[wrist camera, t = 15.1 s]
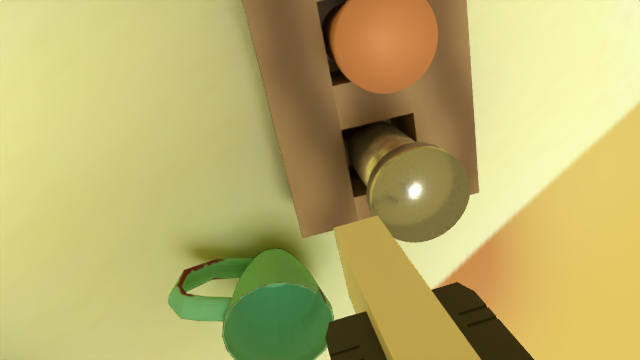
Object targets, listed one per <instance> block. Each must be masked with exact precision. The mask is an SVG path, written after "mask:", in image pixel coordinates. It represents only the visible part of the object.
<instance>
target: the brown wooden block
mask: <svg viewBox="0 0 640 360" xmlns="http://www.w3.org/2000/svg"><path fill="white" fill-rule="evenodd" d="M242 1H243V5H244V9H245V13H246V17H247V21H248V25H249V29H250V33H251V36H252V40H253V44H254V48H255V52H256V56H257V60H258V64H259V68H260V72H261V76H262V80H263V84H264V88H265V92H266V96H267V100H268V104H269V107H270V111H271V115H272V119H273V123H274V127H275V131H276V135H277V139H278V143H279V147H280V151H281V155H282V159H283V163H284V167H285V171H286V175H287V178H288V182H289V186H290V190H291V194H292V198H293V202H294V206H295V210H296V214H297V218H298V222H299V226H300V230H301V234H302V238H305V237H309V236H312V235H316V234H320V233H324V232H328V231H332V230H334V229H333V228H335V227H339V226H342V225H346V224H349V223H353V222H356V221H360V220H363V219H367V218H370V217H374V215H373V214H372V212H371V210H370V208H369V206H368V202H367V195H366V192H367V187H366V185H365V184H364V182H363V181H362V179H361V178H360V176H359V175H358V173H357V172H356V171H355V169H354V168H353V166H352V164H351V163H350V160H349V157H348V146H349V142H350V140H351V138H352V136H353V134H354V133H355V132H356V131H357V130H358V129H359V128H360V127H361V126H363V125H365V124H369V123H373V122H377V121H384V122H388V123H390V124H392V125H394V126H395V127H396V128H398V129H399V130H400V131H402V132H403V133H404V134H406V135H407V136H408V137H410V138H411V139H412V140H413V141H415V142H427V143H431V144H434V145H437V146H439V147H440V148H442V149H444V150H445V151H447V152H448V153H450V154H451V155H452V156H454V157H455V158H456V159H458V160H459V161H460V163H461V164H462V165H463V166H464V168H465V170H466V172H467V174H468V177H469V182H470V195H471V194H475V193H479V185H478V170H477V155H476V139H475V124H474V109H473V93H472V78H471V63H470V47H469V32H468V17H467V1H466V0H426V1H427V2H428V3H429V5H430V6H431V8H432V10H433V12H434V15H435V18H436V21H437V27H438V43H437V48H436V52H435V55H434V58H433V60H432V62H431V64H430V66H429V67H428V69H427V71H426V72H425V73H424V74H423V76H422V77H421V78H420V79H419V80H418V81H416V82H415V83H414V84H412V85H411V86H409V87H408V88H406V89H403V90H401V91H398V92H395V93H389V94H380V93H373V92H369V91H367V90H364V89H363V88H361V87H359V86H357V85H356V84H354V83H353V82H351V81H350V80H349V79H348V78H347V77H346V76H345V75H344V74H343V73H342V72H341V70H340V69H339V67H338V65H337V64H336V61H334V60H333V59H331V58H330V57H329V56H328V54H327V53H326V50H325V45H324V39H323V34H322V29H321V27H322V24H323V21H324V19H325V17H326V16H327V14H328V13H329V12H330V11H331V10H332V9H333V8H334V7H336V6H337V5H340V4H342V3H346V2H347V0H242Z"/></svg>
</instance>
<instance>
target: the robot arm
mask: <svg viewBox="0 0 640 360" xmlns="http://www.w3.org/2000/svg"><path fill="white" fill-rule="evenodd" d="M333 229H334V233H335V237H336V242H337V246H338V250H339V255H340V259H341V263H342V267H343V272H344V276H345V280H346V284H347V289H348V293H349V297H350V299H351V302H352V304H353V307H354V309H355V312H356V314H355V315H351V316H348V317H345V318H341V319H338V320H335V321H331V322H329V325H328V329H327V333H326V337H325V339H326V343H327V347H328V350H329V354H330V358H331V360H534V359H533V358H532V357H531V355H530V354H529V353H528V352H527V351H526V350H525V349H524V347H523V346H522V345H521V344H520V343H519V342H518V341H517V339H516V338H515V337H514V336H513V335H512V334H511V333H510V331H509V330H508V329H507V328H506V327H505V326H504V325H503V323H502V322H501V321H500V320H499V319H497V318H496V315H495V314H494V313H493V312H492V311H491V310H490V309H489V308H487V306H486V304H485V303H484V302H483V301H482V300H481V298H480V297H479V296H478V295H477V294H476V293H475V292H474V291H473V290H471V289H469V288H467V287H465V286H463V285H461V284H460V283H458V282H456V283H453V284H449V285H446V286H443V287H440V288H436V289H433V290H431V289H430V288H429V286H428V285H427V284H426V282H425V281H424V279H423V278H422V277H421V275H420V274H419V272H418V271H417V270H416V268H415V267H414V265H413V264H412V263H411V261H410V260H409V258H408V257H407V256H406V254H405V253H404V251H403V250H402V249H401V247H400V246H399V245H398V243H397V242H396V240H395V239H394V238H393V236H392V235H391V233H390V232H389V231H388V229H387V228H386V226H385V225H384V224H383V222H382V221H381V219H380V218H379V217H378V215H377V216H374V217H370V218H367V219H363V220H360V221H356V222H353V223H349V224H346V225H342V226H339V227H335V228H333Z"/></svg>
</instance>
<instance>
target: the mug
mask: <svg viewBox="0 0 640 360" xmlns="http://www.w3.org/2000/svg"><path fill="white" fill-rule="evenodd" d="M228 278H240V280H239V282H238V284H237V286H236V289H235V291H234V294H233V297H232V298H230V297H204V296H198V295H192V294H187V293H186V292H187V291H189V290H191V289H193V288H195V287H197V286H200V285H202V284H204V283H206V282H208V281H210V280H214V279H228ZM169 305H170V306H171V308H172V309H173V310H174V311H175V312H176V313H177V315H178V316H179V317H180V318H182V319H189V320H195V321H223V333H222V337H223V340H224V343H225V346H226V349H227V351H228V352H229V353H230V355H231V356H232V357H233V358H234V359H235V360H315V359H316V358H317V357H318V356H319V355H320V354H322V353H323V352H324V351H325V349H326V348H327V343H326V339H325V337H326V333H327V329H328V325H329V322H331V321H334V316H333V311H332V307H331V304H330V302H329V301H328V299H327V298H326V296H325V295H324V293H323V292H322V290H321V289H320V287H319V286H318V284H317V283H316V281H315V280H314V278H313V277H312V275H311V274H310V273H309V271H308V270H307V268H306V267H305V266H304V265H303V264H302V263H301V262H300V261H299V260H298V259H296V258H295V257H294V256H292V255H291V254H290V253H288V252H287V251H285V250H282V249H275V248H272V249H268V250H265V251H263V252H261V253H259V254H258V256H257V257H256V258H229V259H215V260H212V261H209V262H206V263H203V264H200V265H198V266H195V267H192V268H189V269H186V270H184V271H183V273H182V274H181V276H180V278H179V279H178V281H177V283H176V285H175V286H174V288H173V290H172V292H171V293H170V295H169Z"/></svg>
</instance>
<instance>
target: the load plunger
mask: <svg viewBox="0 0 640 360" xmlns="http://www.w3.org/2000/svg"><path fill="white" fill-rule="evenodd" d="M321 29H322V34H323V39H324V45H325V50H326V53H327V54H328V56H329V57H330V58H331V59H333V60H334V61H336V64H337V65H338V67H339V69H340V70H341V72H342V73H343V74H344V75H345V76H346V77H347V78H348V79H349V80H350V81H351V82H353V83H354V84H356V85H357V86H359V87H361V88H363V89H364V90H367V91H369V92H373V93H380V94H389V93H395V92H398V91H401V90H403V89H406V88H408V87H409V86H411V85H412V84H414V83H415V82H416V81H418V80H419V79H420V78H421V77H422V76H423V74H424V73H425V72H426V71H427V69H428V67H429V66H430V64H431V62H432V60H433V58H434V55H435V52H436V48H437V43H438V27H437V21H436V18H435V15H434V12H433V10H432V8H431V6H430V5H429V3H428V2H427V1H426V0H347V2H346V3H342V4H340V5H337V6H336V7H334V8H333V9H332V10H331V11H330V12H329V13H328V14H327V16H326V17H325V19H324V21H323V24H322V27H321Z"/></svg>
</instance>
